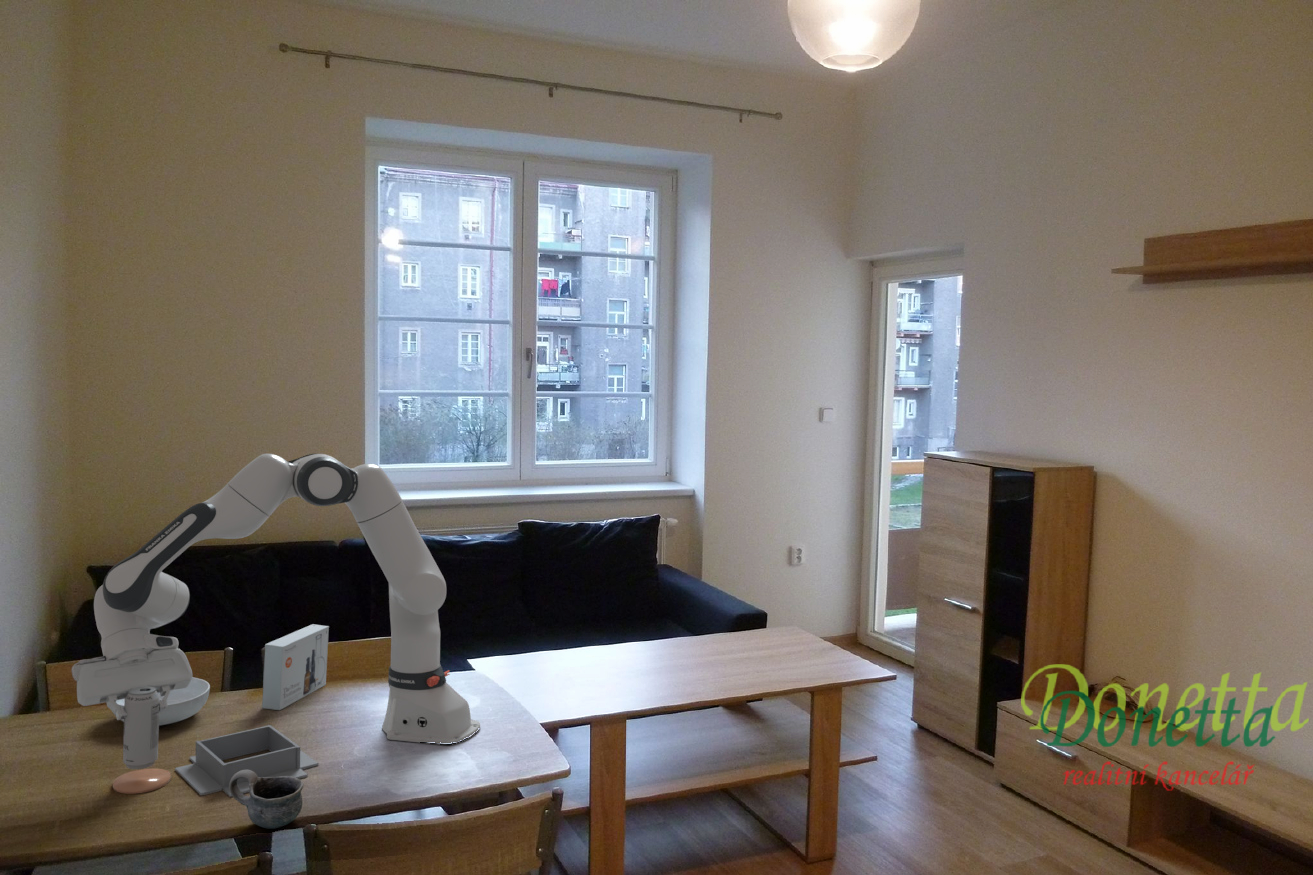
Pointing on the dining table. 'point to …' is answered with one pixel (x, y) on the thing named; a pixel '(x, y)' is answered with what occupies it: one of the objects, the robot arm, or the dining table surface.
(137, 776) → the coaster
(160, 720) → the serving bowl
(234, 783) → the mug
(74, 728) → the dining table surface
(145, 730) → the energy drink can
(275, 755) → the grey open box
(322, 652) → the skincare box
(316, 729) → the dining table surface
